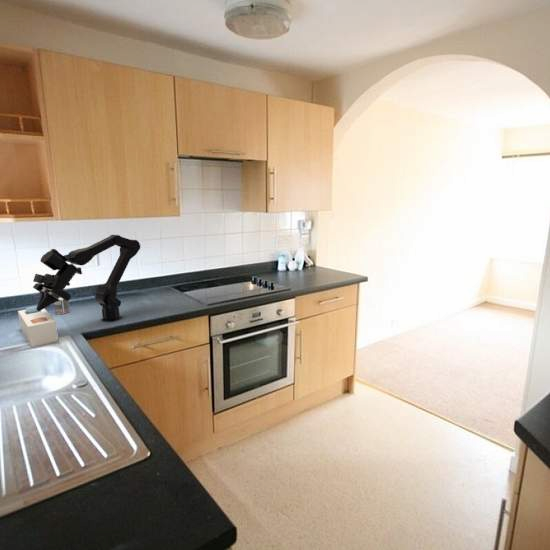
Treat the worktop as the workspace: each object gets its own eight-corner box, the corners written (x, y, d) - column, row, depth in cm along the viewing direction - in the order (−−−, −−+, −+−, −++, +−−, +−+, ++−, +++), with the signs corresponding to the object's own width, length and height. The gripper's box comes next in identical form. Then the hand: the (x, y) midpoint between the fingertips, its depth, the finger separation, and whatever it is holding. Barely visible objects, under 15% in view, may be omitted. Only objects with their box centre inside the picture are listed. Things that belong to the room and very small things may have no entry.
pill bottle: (66, 310, 183) (63, 290, 181) (71, 312, 179) (68, 292, 177) (53, 313, 178) (50, 293, 176) (58, 315, 175) (55, 294, 173)
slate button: (41, 311, 156) (40, 306, 155) (32, 315, 152) (32, 309, 151) (32, 311, 157) (32, 305, 156) (24, 314, 153) (23, 309, 152)
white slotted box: (20, 329, 157) (17, 310, 155) (45, 324, 163) (42, 306, 161) (31, 347, 138) (27, 326, 136) (58, 340, 144) (55, 321, 142)
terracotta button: (49, 323, 145) (48, 317, 145) (40, 327, 141) (39, 321, 140) (40, 322, 146) (39, 316, 146) (30, 326, 142) (29, 320, 141)
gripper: (34, 263, 148) (7, 296, 141) (58, 267, 138) (30, 303, 131) (57, 278, 156) (33, 310, 149) (81, 284, 146) (56, 318, 139)
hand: (37, 310), depth 142 cm, fingers closed
